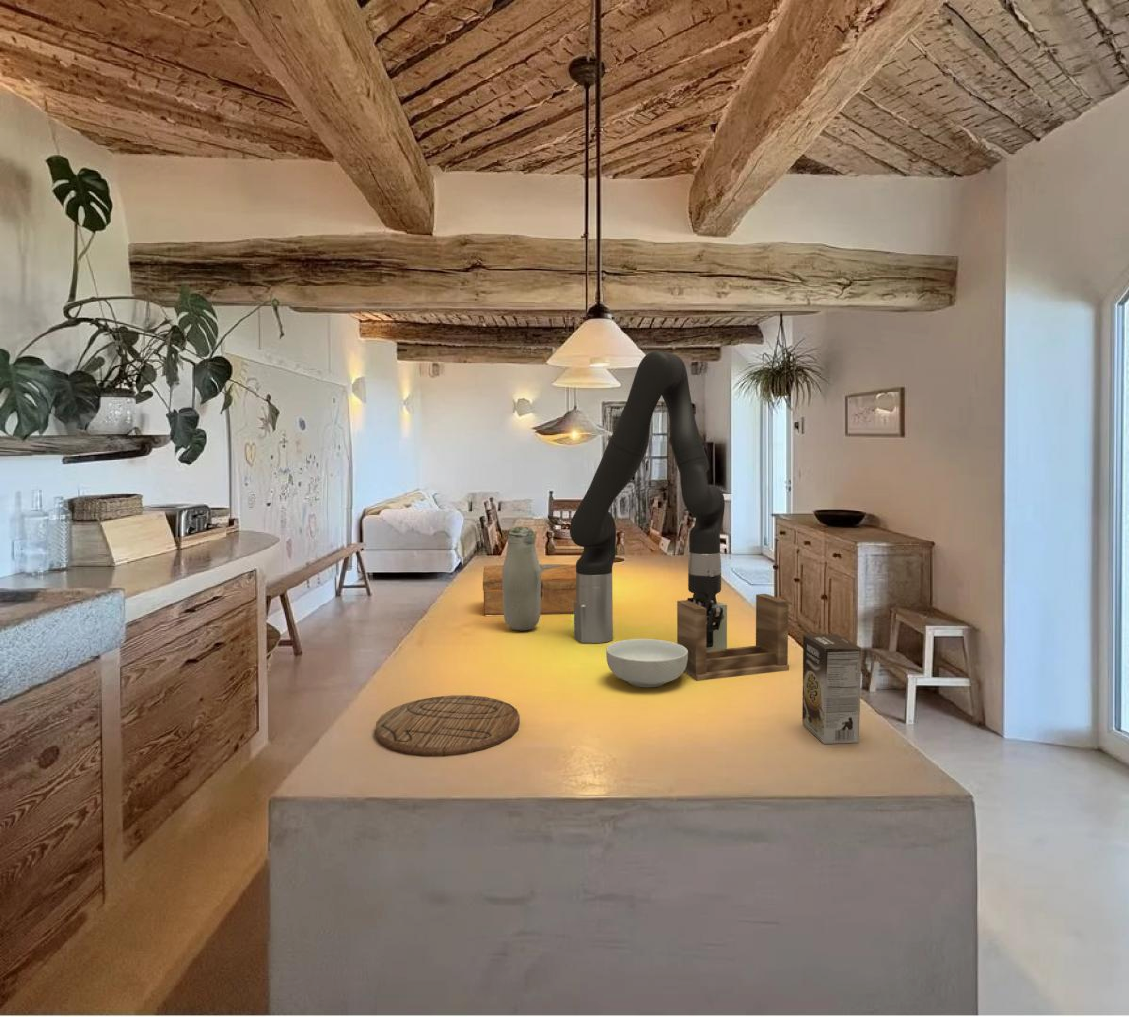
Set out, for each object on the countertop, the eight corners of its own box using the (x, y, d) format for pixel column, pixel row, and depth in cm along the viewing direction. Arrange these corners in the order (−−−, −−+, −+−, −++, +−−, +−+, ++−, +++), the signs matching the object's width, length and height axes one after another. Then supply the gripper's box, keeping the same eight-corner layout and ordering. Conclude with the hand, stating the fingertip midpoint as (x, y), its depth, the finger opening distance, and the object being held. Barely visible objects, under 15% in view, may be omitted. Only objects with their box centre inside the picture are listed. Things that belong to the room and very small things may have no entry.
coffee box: (800, 724, 130) (801, 633, 129) (835, 722, 131) (837, 632, 129) (822, 745, 121) (824, 647, 120) (860, 743, 122) (862, 646, 120)
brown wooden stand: (697, 680, 155) (697, 609, 154) (676, 667, 165) (676, 600, 163) (788, 670, 161) (789, 601, 160) (763, 657, 171) (764, 593, 170)
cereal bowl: (634, 700, 144) (634, 664, 143) (591, 677, 159) (591, 644, 158) (704, 686, 152) (704, 652, 151) (657, 665, 166) (657, 634, 166)
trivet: (500, 762, 117) (499, 751, 117) (350, 754, 121) (350, 743, 121) (532, 707, 142) (532, 697, 141) (407, 702, 146) (407, 692, 146)
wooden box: (482, 617, 216) (481, 570, 215) (487, 605, 233) (486, 561, 232) (585, 615, 217) (584, 568, 216) (582, 604, 233) (582, 560, 232)
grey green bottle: (497, 632, 198) (495, 528, 196) (514, 623, 207) (512, 524, 205) (531, 635, 194) (529, 529, 192) (547, 626, 204) (545, 525, 201)
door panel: (689, 660, 170) (689, 608, 169) (682, 656, 173) (682, 605, 172) (729, 656, 172) (729, 605, 171) (720, 652, 176) (720, 602, 175)
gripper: (676, 567, 177) (676, 639, 179) (704, 577, 164) (704, 654, 165) (704, 566, 179) (704, 636, 181) (734, 575, 166) (734, 651, 167)
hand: (704, 644), depth 173 cm, fingers closed on door panel, 3 cm apart
